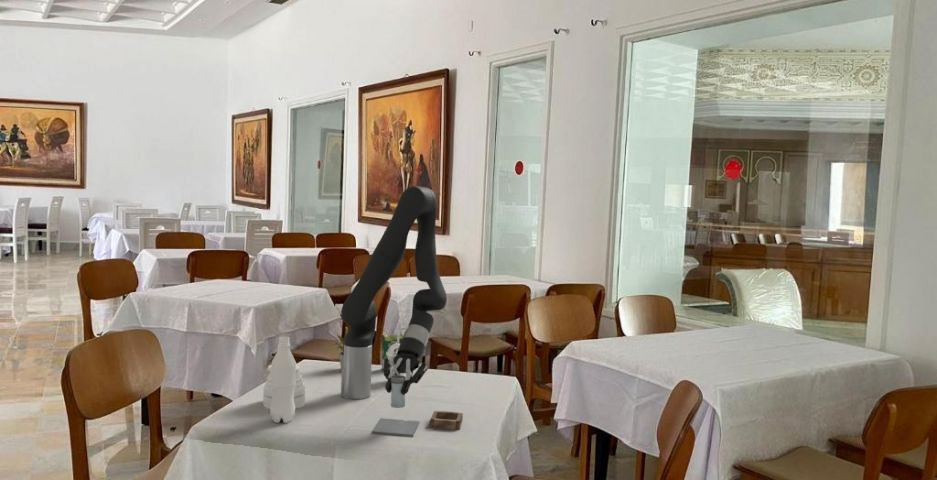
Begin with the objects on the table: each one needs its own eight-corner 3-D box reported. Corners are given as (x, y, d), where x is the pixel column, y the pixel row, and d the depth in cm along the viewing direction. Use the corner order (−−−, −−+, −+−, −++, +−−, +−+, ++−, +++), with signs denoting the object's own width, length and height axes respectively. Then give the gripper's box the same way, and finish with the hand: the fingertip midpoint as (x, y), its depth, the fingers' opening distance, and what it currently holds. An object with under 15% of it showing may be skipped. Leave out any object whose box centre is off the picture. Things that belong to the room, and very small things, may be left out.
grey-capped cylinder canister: (389, 407, 224) (389, 378, 223) (392, 403, 228) (392, 375, 227) (403, 408, 223) (404, 379, 223) (406, 404, 227) (406, 375, 227)
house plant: (323, 365, 293) (324, 322, 292) (358, 363, 299) (360, 321, 297) (331, 375, 280) (333, 330, 279) (368, 372, 286) (370, 329, 284)
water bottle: (288, 425, 224) (290, 341, 222) (265, 423, 226) (267, 339, 223) (298, 418, 231) (300, 336, 229) (276, 415, 233) (278, 334, 230)
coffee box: (383, 371, 289) (384, 336, 288) (380, 369, 292) (382, 335, 290) (403, 369, 292) (404, 335, 291) (401, 367, 295) (402, 334, 294)
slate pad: (371, 433, 221) (371, 431, 221) (380, 420, 233) (380, 418, 233) (412, 436, 220) (413, 434, 220) (419, 423, 232) (419, 421, 232)
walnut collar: (429, 427, 228) (430, 419, 228) (434, 418, 237) (434, 410, 236) (459, 429, 227) (459, 421, 227) (462, 420, 236) (462, 412, 236)
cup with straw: (387, 377, 281) (389, 323, 279) (412, 379, 279) (414, 325, 277) (382, 383, 272) (384, 327, 270) (407, 385, 271) (409, 329, 269)
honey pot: (255, 402, 244) (256, 346, 243) (289, 395, 254) (290, 341, 252) (278, 412, 236) (279, 354, 234) (312, 404, 245) (314, 348, 244)
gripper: (388, 333, 233) (369, 382, 223) (432, 338, 228) (414, 388, 218) (396, 347, 239) (377, 396, 229) (438, 352, 234) (421, 402, 224)
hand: (395, 392), depth 223 cm, fingers closed on grey-capped cylinder canister, 4 cm apart
